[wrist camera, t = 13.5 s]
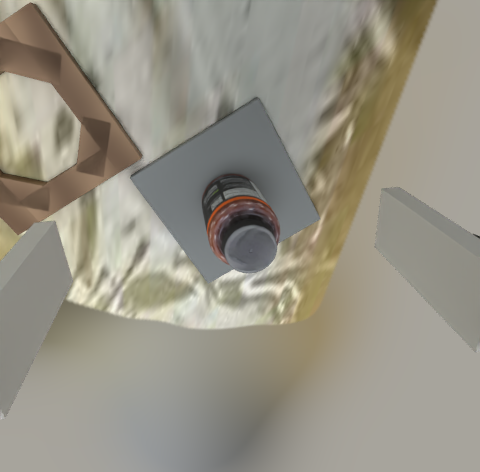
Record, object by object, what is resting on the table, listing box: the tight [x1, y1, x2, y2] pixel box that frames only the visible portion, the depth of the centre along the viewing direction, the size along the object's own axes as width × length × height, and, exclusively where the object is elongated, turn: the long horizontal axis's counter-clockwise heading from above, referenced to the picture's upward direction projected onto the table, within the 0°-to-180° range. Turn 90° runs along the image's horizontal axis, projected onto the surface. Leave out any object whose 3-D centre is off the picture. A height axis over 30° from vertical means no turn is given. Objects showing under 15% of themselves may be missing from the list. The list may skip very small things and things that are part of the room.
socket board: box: [0, 2, 142, 235], centre depth 33 cm, size 14×14×1 cm
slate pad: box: [130, 98, 320, 283], centre depth 38 cm, size 14×14×1 cm
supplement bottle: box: [202, 174, 280, 273], centre depth 33 cm, size 6×6×11 cm
